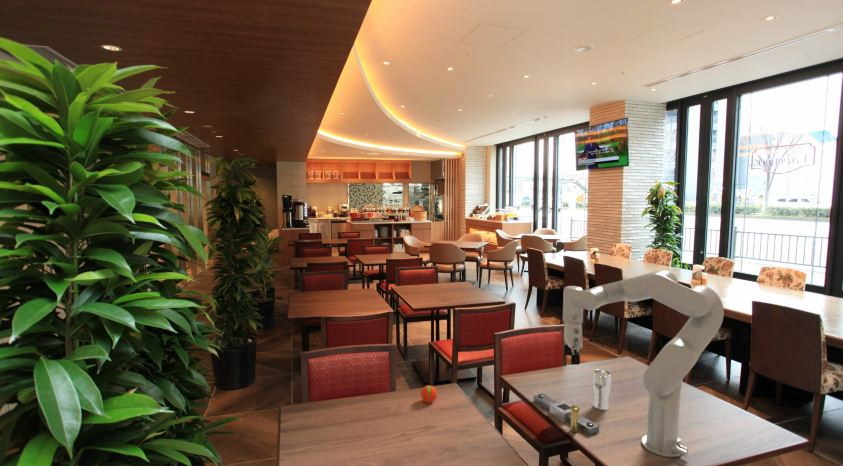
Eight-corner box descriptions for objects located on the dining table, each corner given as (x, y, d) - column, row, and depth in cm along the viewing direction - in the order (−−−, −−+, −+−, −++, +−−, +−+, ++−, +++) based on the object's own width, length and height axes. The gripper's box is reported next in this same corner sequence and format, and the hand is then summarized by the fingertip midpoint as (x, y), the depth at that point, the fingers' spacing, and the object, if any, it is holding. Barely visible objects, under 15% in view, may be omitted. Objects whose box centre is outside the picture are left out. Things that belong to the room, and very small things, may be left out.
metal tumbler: (606, 403, 185) (608, 369, 183) (612, 411, 178) (613, 376, 176) (590, 402, 185) (591, 368, 184) (594, 410, 178) (596, 375, 177)
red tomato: (437, 407, 182) (437, 390, 181) (420, 406, 182) (420, 390, 181) (436, 398, 190) (436, 382, 189) (421, 397, 190) (421, 382, 189)
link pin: (581, 431, 163) (581, 408, 162) (574, 433, 161) (575, 410, 160) (574, 427, 166) (574, 404, 165) (567, 429, 164) (568, 406, 163)
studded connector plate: (601, 430, 163) (602, 421, 163) (586, 436, 159) (587, 427, 159) (545, 397, 190) (545, 389, 189) (530, 401, 186) (531, 393, 186)
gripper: (589, 324, 163) (588, 368, 164) (576, 311, 180) (574, 351, 181) (569, 323, 163) (568, 367, 165) (557, 311, 180) (556, 351, 182)
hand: (571, 359), depth 173 cm, fingers open, 9 cm apart
